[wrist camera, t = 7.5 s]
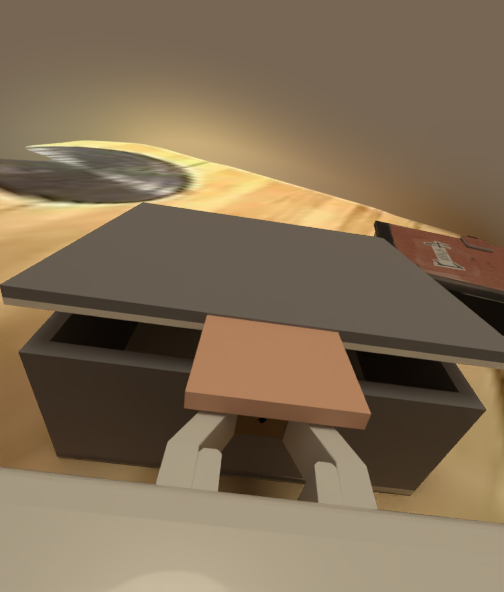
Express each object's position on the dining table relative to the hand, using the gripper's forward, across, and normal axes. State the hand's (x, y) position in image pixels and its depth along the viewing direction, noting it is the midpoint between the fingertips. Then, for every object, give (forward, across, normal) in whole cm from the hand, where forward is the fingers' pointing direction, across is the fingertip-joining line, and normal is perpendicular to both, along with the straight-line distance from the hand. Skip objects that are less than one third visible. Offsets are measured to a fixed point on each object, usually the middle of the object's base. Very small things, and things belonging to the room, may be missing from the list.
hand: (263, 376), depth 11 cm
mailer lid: (+7, 0, 0) cm, 7 cm away
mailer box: (+9, 0, +10) cm, 13 cm away
